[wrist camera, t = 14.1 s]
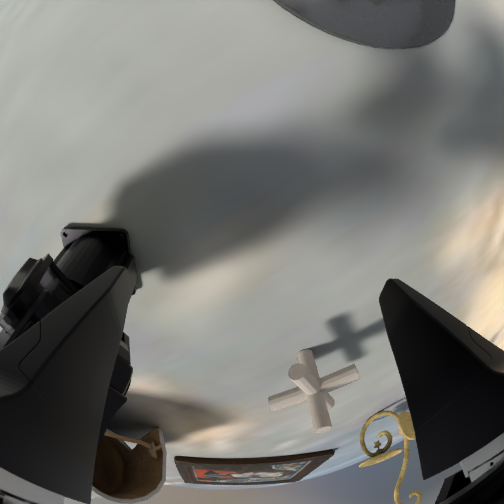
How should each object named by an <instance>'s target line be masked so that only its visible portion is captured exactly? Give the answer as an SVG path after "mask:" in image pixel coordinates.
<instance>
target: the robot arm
mask: <svg viewBox="0 0 504 504" xmlns="http://www.w3.org/2000/svg"><path fill="white" fill-rule="evenodd" d="M65 232H66V233H67V234H68V235H67V234H66V233H65ZM120 234H122V235H123V236H124V237H121V236H120ZM61 237H62V241H63V245H64V248H63V250H62V251H61V252H60V253H59V255H58V256H57V257H56V259H55V260H54V261H53V258H52V257H51V256H50V255H49V254H47V255H46V256H45V257H44V258H43V259H42V258H40V259H39V260H36V259H33V258H29V259H28V260H27V261H26V262H25V264H24V265H23V266H22V267H21V269H20V270H19V271H18V272H17V274H16V275H15V276H14V278H13V279H12V281H11V282H10V284H9V285H8V287H7V288H6V290H5V291H4V293H3V302H4V305H3V308H2V310H1V315H0V326H1V327H2V328H3V330H2V331H1V333H0V504H64V497H68V498H71V499H73V500H77V501H80V502H83V503H86V504H90V502H91V492H92V482H93V473H94V465H95V457H96V451H97V449H96V448H97V446H98V445H100V443H101V442H102V439H103V437H104V434H105V432H106V429H107V427H108V425H109V423H110V421H111V419H112V418H113V416H114V415H115V413H116V412H117V410H118V409H119V408H120V407H121V406H122V405H123V404H124V403H125V402H126V400H127V397H125V395H126V393H127V391H128V389H129V386H130V383H131V377H132V373H133V368H132V366H131V363H130V347H129V337H128V336H127V335H126V334H125V333H124V332H123V329H124V324H125V318H126V313H127V307H128V303H129V301H130V298H131V295H134V294H135V293H136V289H137V288H136V282H137V273H136V266H135V260H134V256H133V254H131V250H130V243H129V235H128V232H127V231H126V230H124V229H111V228H83V227H64V228H63V229H62V230H61ZM379 303H380V307H381V311H382V315H383V319H384V323H385V327H386V331H387V335H388V339H389V342H390V345H391V348H392V351H393V354H394V357H395V361H396V364H397V367H398V370H399V374H400V377H401V381H402V384H403V388H404V391H405V395H406V399H407V403H408V407H409V411H410V415H411V419H412V423H413V428H414V432H415V438H416V442H417V448H418V453H419V458H420V463H421V470H422V476H423V480H425V479H427V478H430V477H432V476H434V475H436V474H438V473H440V472H442V471H444V470H446V469H448V468H450V467H452V466H453V465H455V464H457V463H459V462H460V464H461V467H462V469H461V470H459V471H458V472H456V473H454V474H453V475H451V476H449V477H447V478H446V479H445V481H444V483H443V486H442V488H441V491H440V493H439V495H438V498H437V500H436V502H435V504H504V351H503V350H502V349H500V348H499V347H497V346H496V345H494V344H493V343H491V342H490V341H488V340H487V339H485V338H484V337H482V336H481V335H480V334H478V333H477V332H475V331H474V330H472V329H471V328H470V327H468V326H466V324H464V323H463V322H461V321H460V320H458V319H457V318H456V317H454V316H453V315H451V314H450V313H448V312H447V311H446V310H444V309H443V308H441V307H440V306H438V305H437V304H435V303H434V302H432V301H431V300H429V299H428V298H427V297H425V296H424V295H422V294H420V293H419V292H417V291H416V290H414V289H413V288H411V287H410V286H408V285H407V284H405V283H404V282H402V281H401V280H399V279H388V280H387V281H386V283H385V285H384V288H383V290H382V292H381V294H380V297H379Z"/></svg>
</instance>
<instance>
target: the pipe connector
mask: <svg viewBox="0 0 504 504" xmlns="http://www.w3.org/2000/svg"><path fill="white" fill-rule="evenodd" d="M297 356H298V361H299V363H298V364H295V365H293V366H291V368H290V369H289V371H288V376H289V377H290V379H291V380H292V381H293V382H294V383H295V384H296V385H297V386H298V387H296V388H293V389H290V390H287V391H284V392H282V393H279V394H276V395H273V396H269V398H268V402H269V406H270V408H271V409H272V410H273V411H276V410H279V409H282V408H285V407H288V406H291V405H294V404H297V403H300V402H303V401H306V400H307V401H308V405H309V410H310V415H311V419H312V424H313V429H314V432H315V433H322V432H326V431H328V430H330V429H331V428H332V424H331V420H330V416H329V413H328V410H329V409H331V408H332V407H333V406H334V399H333V398H332V397H331V396H330V394H329V393H328V392H330V391H333V390H335V389H338V388H340V387H342V386H345V385H347V384H349V383H352V382H354V381H356V380H359V379H360V376H359V373H358V371H357V368H356V366H355V364H352V365H350V366H348V367H346V368H343V369H341V370H339V371H336V372H334V373H332V374H329V375H327V376H324V377H322V378H319V374H318V370H317V367H316V363H315V359H314V356H313V352H312V350H310V349H305V350H302V351H300V352H299V353H298V354H297Z"/></svg>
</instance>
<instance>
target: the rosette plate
mask: <svg viewBox="0 0 504 504" xmlns="http://www.w3.org/2000/svg"><path fill="white" fill-rule="evenodd" d="M273 1H275V2H276V3H277V4H278V5H280V6H281V7H282V8H284V9H285V10H287V11H288V12H290V13H291V14H293V15H294V16H296V17H297V18H299V19H301V20H303V21H304V22H306V23H308V24H310V25H311V26H313V27H315V28H318V29H320V30H322V31H324V32H326V33H328V34H330V35H333V36H336V37H338V38H341V39H343V40H346V41H350V42H353V43H356V44H359V45H364V46H369V47H374V48H383V49H403V48H411V47H418V46H422V45H425V44H428V43H430V42H432V41H434V40H436V39H437V38H438V37H440V36H441V35H442V34H443V33H444V32H445V30H446V29H447V28H448V26H449V24H450V22H451V20H452V18H453V14H454V8H455V0H273Z"/></svg>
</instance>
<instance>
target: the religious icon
mask: <svg viewBox="0 0 504 504" xmlns="http://www.w3.org/2000/svg"><path fill="white" fill-rule="evenodd" d="M334 452H335V451H332V450H327V451H321V452H315V453H307V454H300V455H292V456H282V457H268V458H249V459H211V458H193V457H179V456H175V457H174V459H175V464H176V467H177V469H178V471H179V474H180V475H181V477H182V479H183V480H184V482H185V483H193V484H212V485H258V484H276V483H289V482H296V481H299V480H301V479H302V478H303V477H305V476H306V475H308V474H309V473H310V472H312V471H313V470H314V469H316V468H317V467H319V466H320V465H321V464H322V463H324V462H325V461H326V460H328V459H329V458H330V457H332V456H333V455H334Z"/></svg>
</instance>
